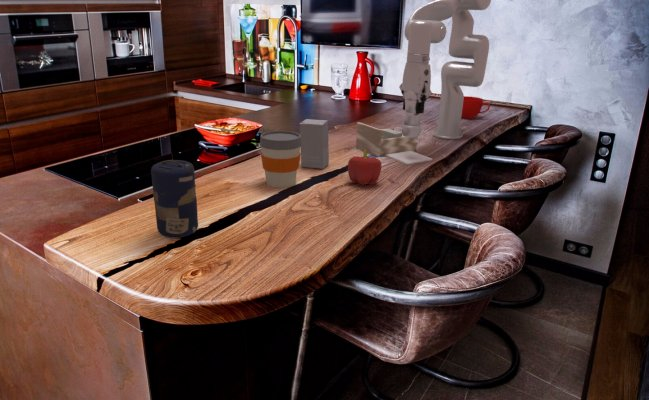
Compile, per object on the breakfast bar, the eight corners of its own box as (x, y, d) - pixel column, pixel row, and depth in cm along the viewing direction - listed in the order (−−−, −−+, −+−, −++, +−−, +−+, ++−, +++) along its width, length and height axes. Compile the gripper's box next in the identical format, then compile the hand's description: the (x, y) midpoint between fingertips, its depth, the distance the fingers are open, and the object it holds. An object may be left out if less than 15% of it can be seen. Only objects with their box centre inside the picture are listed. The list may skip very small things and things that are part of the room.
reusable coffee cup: (285, 192, 145) (285, 143, 139) (252, 184, 151) (250, 136, 145) (309, 181, 155) (309, 134, 149) (277, 173, 161) (276, 128, 155)
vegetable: (347, 176, 160) (348, 146, 157) (378, 177, 160) (380, 147, 156) (347, 188, 150) (348, 156, 146) (381, 189, 150) (383, 157, 146)
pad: (410, 152, 189) (410, 150, 189) (432, 160, 180) (432, 158, 180) (385, 156, 183) (385, 154, 183) (407, 164, 174) (407, 163, 174)
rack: (393, 142, 203) (395, 118, 199) (416, 150, 192) (418, 125, 188) (355, 147, 194) (357, 122, 190) (377, 156, 183) (379, 130, 179)
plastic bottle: (419, 140, 175) (425, 83, 168) (400, 138, 176) (405, 81, 169) (420, 136, 181) (425, 80, 174) (401, 134, 182) (406, 79, 175)
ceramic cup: (484, 123, 242) (486, 102, 239) (450, 118, 251) (453, 98, 247) (491, 118, 253) (494, 99, 249) (459, 114, 261) (461, 95, 257)
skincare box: (328, 164, 172) (330, 119, 166) (322, 170, 165) (323, 124, 160) (306, 161, 174) (306, 117, 168) (298, 167, 168) (299, 121, 162)
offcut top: (388, 134, 196) (388, 128, 195) (402, 138, 191) (402, 132, 190) (381, 135, 194) (381, 129, 193) (394, 140, 189) (395, 134, 188)
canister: (181, 220, 124) (175, 152, 118) (207, 230, 119) (202, 159, 113) (149, 233, 117) (140, 161, 110) (175, 244, 112) (168, 169, 105)
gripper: (444, 61, 164) (437, 115, 170) (409, 56, 177) (405, 106, 184) (427, 62, 160) (421, 116, 167) (393, 57, 174) (389, 108, 180)
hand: (413, 111), depth 175 cm, fingers closed on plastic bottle, 6 cm apart
